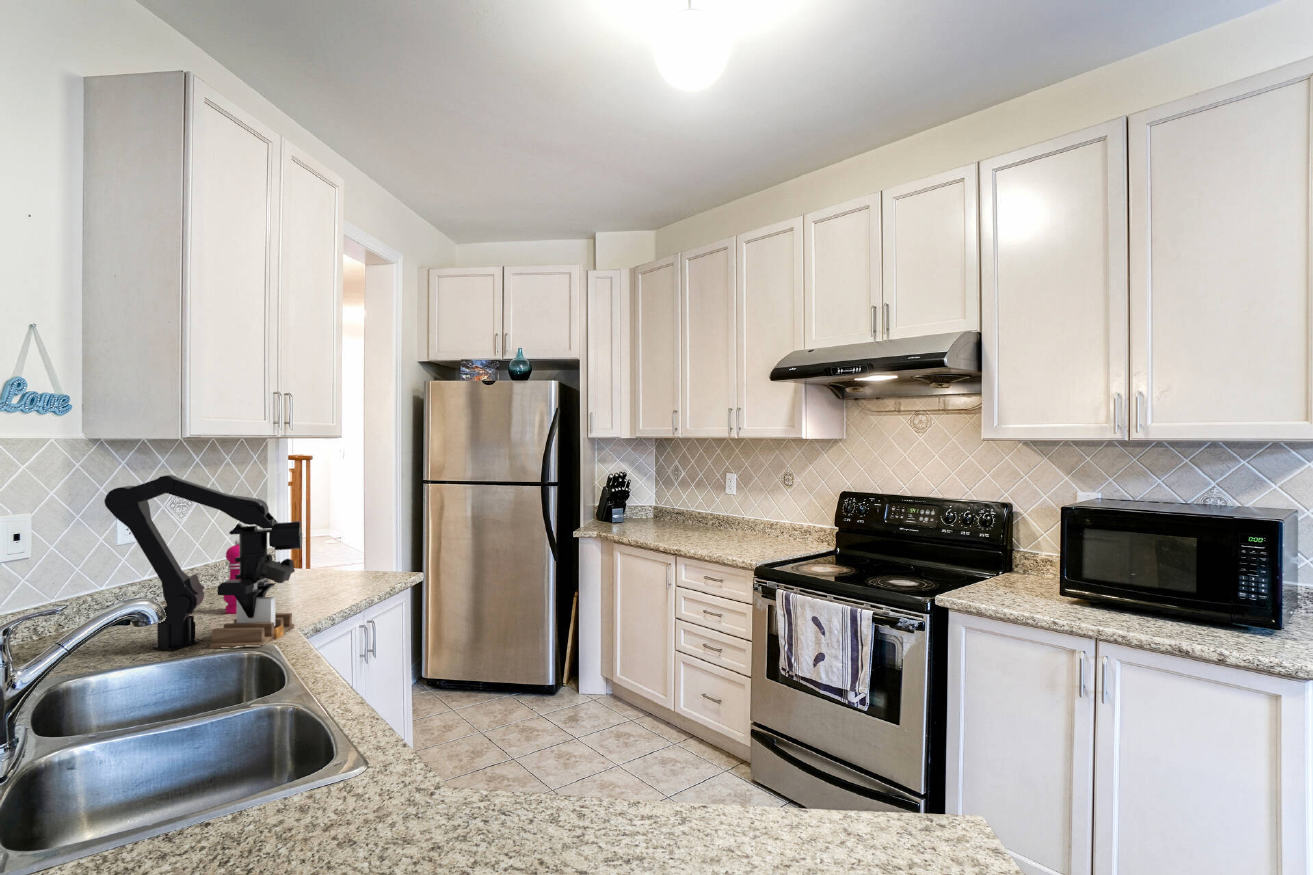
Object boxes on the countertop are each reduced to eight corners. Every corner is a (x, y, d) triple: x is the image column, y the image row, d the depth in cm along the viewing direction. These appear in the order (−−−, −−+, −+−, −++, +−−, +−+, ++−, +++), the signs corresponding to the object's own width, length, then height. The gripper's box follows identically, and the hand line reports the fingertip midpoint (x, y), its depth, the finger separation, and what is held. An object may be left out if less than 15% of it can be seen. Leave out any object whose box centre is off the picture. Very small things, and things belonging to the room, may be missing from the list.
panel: (270, 628, 157) (270, 598, 157) (236, 628, 157) (236, 599, 157) (275, 625, 159) (275, 596, 159) (241, 626, 159) (241, 597, 159)
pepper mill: (260, 607, 186) (259, 537, 186) (241, 614, 179) (241, 541, 179) (236, 607, 187) (236, 537, 187) (217, 614, 180) (216, 541, 180)
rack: (261, 647, 150) (261, 630, 150) (209, 648, 150) (209, 631, 150) (296, 627, 166) (296, 611, 166) (249, 628, 166) (249, 612, 166)
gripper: (266, 558, 149) (266, 627, 149) (306, 544, 168) (306, 606, 168) (216, 558, 149) (216, 627, 149) (261, 545, 167) (262, 606, 167)
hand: (253, 616), depth 158 cm, fingers closed on panel, 2 cm apart
